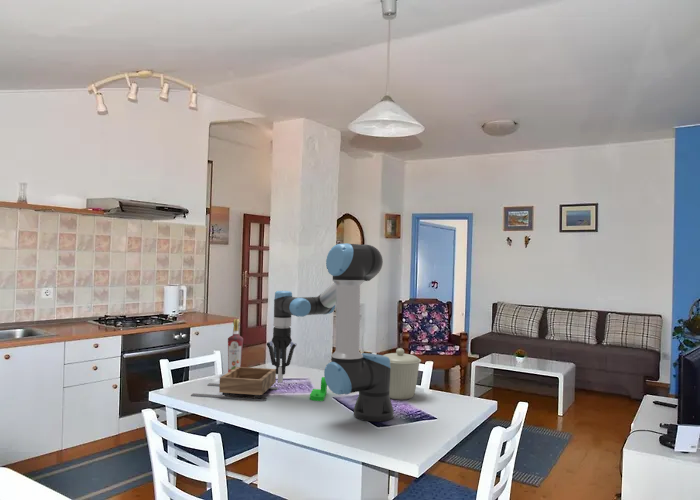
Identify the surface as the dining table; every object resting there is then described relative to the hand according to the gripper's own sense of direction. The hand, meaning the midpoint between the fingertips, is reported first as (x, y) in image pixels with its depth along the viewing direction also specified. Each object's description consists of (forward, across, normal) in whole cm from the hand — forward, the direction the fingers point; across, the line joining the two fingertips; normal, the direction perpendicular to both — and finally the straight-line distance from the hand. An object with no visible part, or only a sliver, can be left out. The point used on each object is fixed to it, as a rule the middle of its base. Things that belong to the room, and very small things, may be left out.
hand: (280, 381), depth 223 cm
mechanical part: (+6, -16, 0) cm, 18 cm away
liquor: (+6, +29, -26) cm, 39 cm away
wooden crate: (+6, +14, 0) cm, 15 cm away
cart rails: (+6, +19, 0) cm, 20 cm away
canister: (+6, -51, -9) cm, 52 cm away
